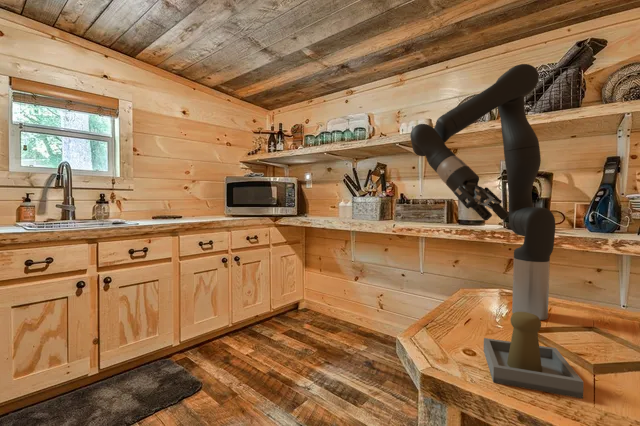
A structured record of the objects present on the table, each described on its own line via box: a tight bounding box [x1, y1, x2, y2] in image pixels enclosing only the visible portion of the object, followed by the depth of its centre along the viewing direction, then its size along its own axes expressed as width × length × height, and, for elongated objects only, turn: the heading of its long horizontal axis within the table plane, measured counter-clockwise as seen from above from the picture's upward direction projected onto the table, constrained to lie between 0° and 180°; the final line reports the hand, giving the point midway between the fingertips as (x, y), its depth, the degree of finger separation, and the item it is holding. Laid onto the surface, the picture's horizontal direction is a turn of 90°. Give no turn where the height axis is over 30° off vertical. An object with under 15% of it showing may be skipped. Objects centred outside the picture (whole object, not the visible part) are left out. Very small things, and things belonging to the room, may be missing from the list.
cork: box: [507, 312, 542, 372], centre depth 64 cm, size 6×6×11 cm
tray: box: [483, 337, 585, 400], centre depth 65 cm, size 14×14×3 cm
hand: (497, 217), depth 80 cm, fingers open, 8 cm apart
